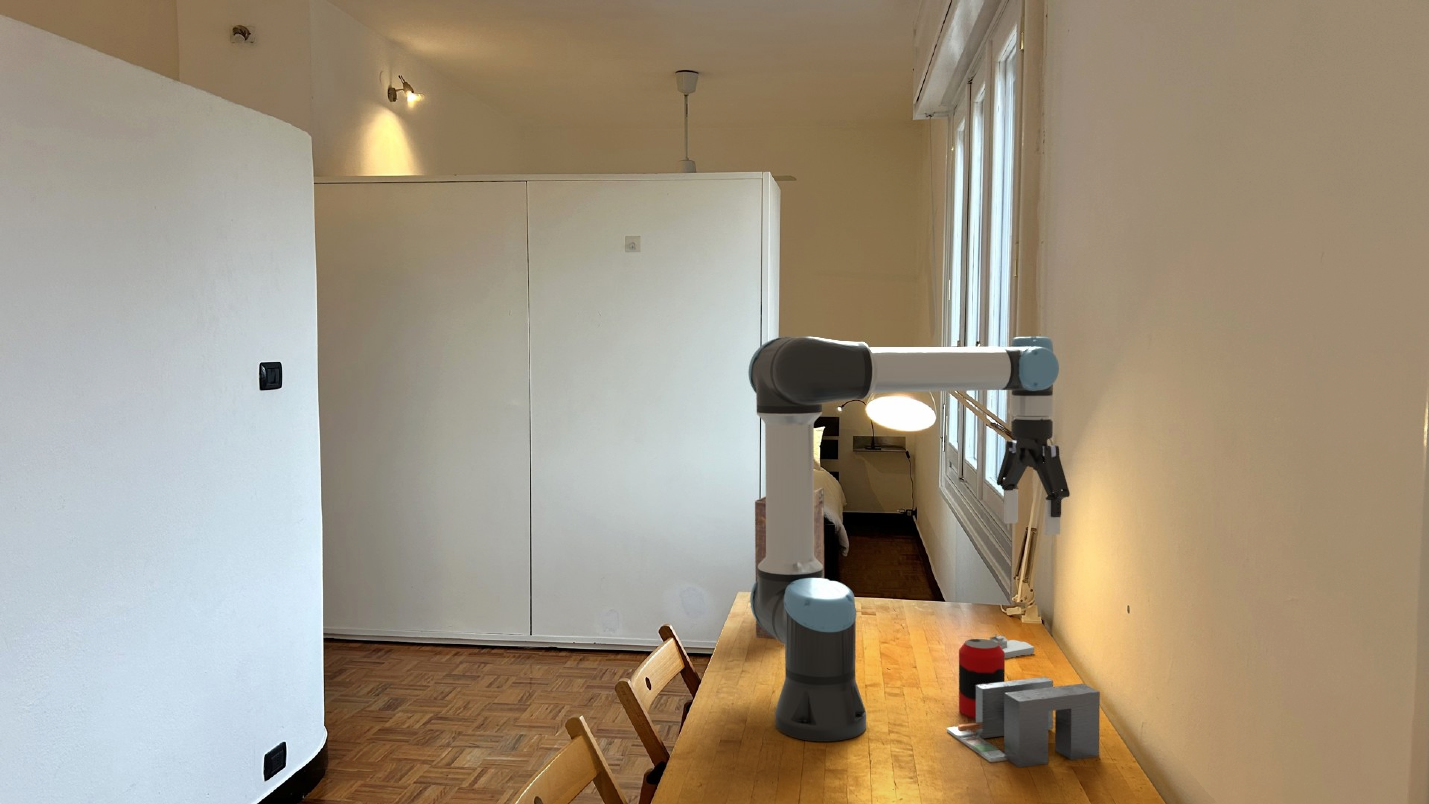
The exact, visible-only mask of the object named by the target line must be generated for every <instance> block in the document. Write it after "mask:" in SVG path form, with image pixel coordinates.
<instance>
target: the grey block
mask: <svg viewBox="0 0 1429 804" xmlns="http://www.w3.org/2000/svg"><path fill="white" fill-rule="evenodd" d="M1050 687H1054V680H1053V679H1051V678H1048V677H1046V676H1042V677H1035V678H1024V679H1016V680H1009V681H1008V680H1007V681H1005V682H998V683H989V684H981V685H976V719H975V722H971V723H963V724H957V727H958V730H959V731H960V732H962V731H969V730H970V731H975V733H976V734H977V735H978V736H979V737H980V738H982V739H987V738H988V739H989V738H996V737H1002V736H1003V737H1004V693H1008V692H1017V691H1025V690H1033V689H1042V688H1050ZM1053 729H1054V711H1048V731H1049V730H1053Z"/></svg>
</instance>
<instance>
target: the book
mask: <svg viewBox="0 0 1429 804" xmlns="http://www.w3.org/2000/svg"><path fill="white" fill-rule="evenodd" d="M824 496H825V495H824V487H820V488H818V489H814V556H815V558H816V559H817V560H818V561H819V562H820V563H821V564H822V565H823V579H825V522H824V521H825V519H824V518H825V513H824V512H825V510H824V509H825V505H824V504H825V501H824V500H825V499H824ZM754 527H755V528H754V536H755V537H754V538H755V539H754V541H755V546H754V548H755V554H754V555H755V562H754V563H755V567H754V569H755V582H756V581H757V580H758V564H759V563H760V562H761V561H762V560H763V559H764V558H765V557H766V495H764V496H763V497H761V498H759V499H757V500H754ZM755 637H756V638H764V639H765V638H766V639H776V638H775V637H773V636H771V635H770V634H768V633H767V632H766V631H765V630H763V629H762V627H761V626H760V625H759V623H758V622H757V620H756V619H755ZM776 640H777V639H776Z"/></svg>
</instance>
